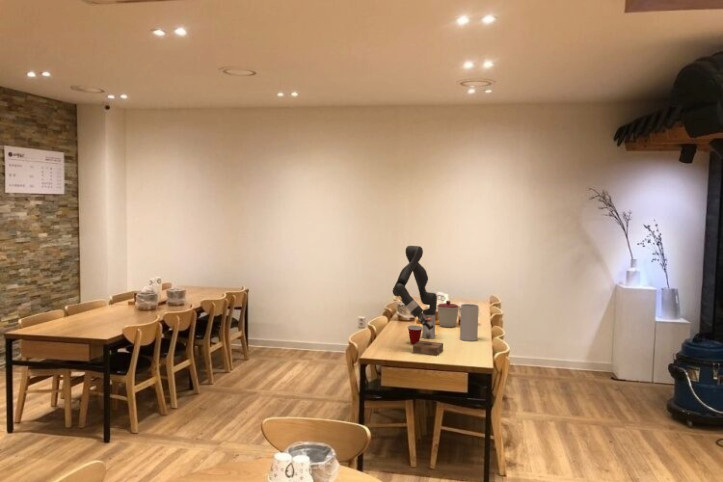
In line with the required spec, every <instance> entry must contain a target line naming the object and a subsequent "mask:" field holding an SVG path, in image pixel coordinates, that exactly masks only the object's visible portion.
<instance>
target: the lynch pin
mask: <svg viewBox="0 0 723 482" xmlns="http://www.w3.org/2000/svg"><path fill="white" fill-rule="evenodd" d="M426 320H427V322H428V324H429V325H430V326H431V321H432V318H426ZM430 338H431V330H429V329H428V328H427V327H426V338H425V339H426V340H427V339H429V340H430Z"/></svg>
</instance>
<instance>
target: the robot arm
mask: <svg viewBox="0 0 723 482" xmlns="http://www.w3.org/2000/svg"><path fill="white" fill-rule="evenodd" d="M423 254H424V249H423V248H422V246H419V245H408V246H406V248H405V256H406V258H407V261H408V263H407V264H406V265H405V266H404V267H403V268H402V269H401V271H400V273H399V274H398V278H397V281H396V282H395V284H394V286H393V288H392V294H393V296H395V297H400V299H401V302H402V304H403V305H404V307H405V308H406V309H407V310H408V311H409V312H410V313H411V315H412V316H413V317H414V318H418V319H417V321H418V322H419V323H421V325H422V327H423V329H422V331H421V334H422V335H421V337H422V338H423V339H427V338H426V327H427V328H428V329H429V330H431V338H430V339H431V340H432V339H435V337H436V313H437V305H438V296H437V294H436V293H435V292H429V291H427V289H426V286H427V284H428V281H429V276H428V273H427V270H426V268H424V266H422V265H421V264H420V260H421V259H422V257H423ZM412 273H413V276H414V280H415V283H416V285H417V289H418V293H419V297H420V302H421V303H422V305H425V306H428V307H427V308H425V309H423V308H422V307H421V306H420V305H419V303H418V302H417V301H416V300H414V298H413V297H412V296H411V295H410V293H409V291H408V289H407V288H406V285H407V284H408V282H409V280H410V278H411V275H412ZM426 318H432V321H431V326H430V325H429V324H428V322H427V320H426ZM430 339H429V340H430Z"/></svg>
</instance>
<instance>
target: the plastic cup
mask: <svg viewBox="0 0 723 482" xmlns="http://www.w3.org/2000/svg"><path fill="white" fill-rule="evenodd" d="M407 329H408V335H409V342H410V344H411V345H414V344H416V343H417V342H419V341H421V340H420V339H421V336H422V335H421V334H422V329H423V326H421V325H416V324H413V325H412V324H411V325H407Z"/></svg>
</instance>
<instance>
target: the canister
mask: <svg viewBox="0 0 723 482" xmlns="http://www.w3.org/2000/svg"><path fill="white" fill-rule="evenodd" d="M436 308H437V316H438V317H437V318H438V324H439V326H440V327H442V328H455V327H456V326H457V322H458V317H459V315H458V314H459V309H460V306H459V305H457V304H455V303H451V301H450V300H446V302H445V303H443V302H442V303H439V304H437V306H436Z"/></svg>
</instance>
